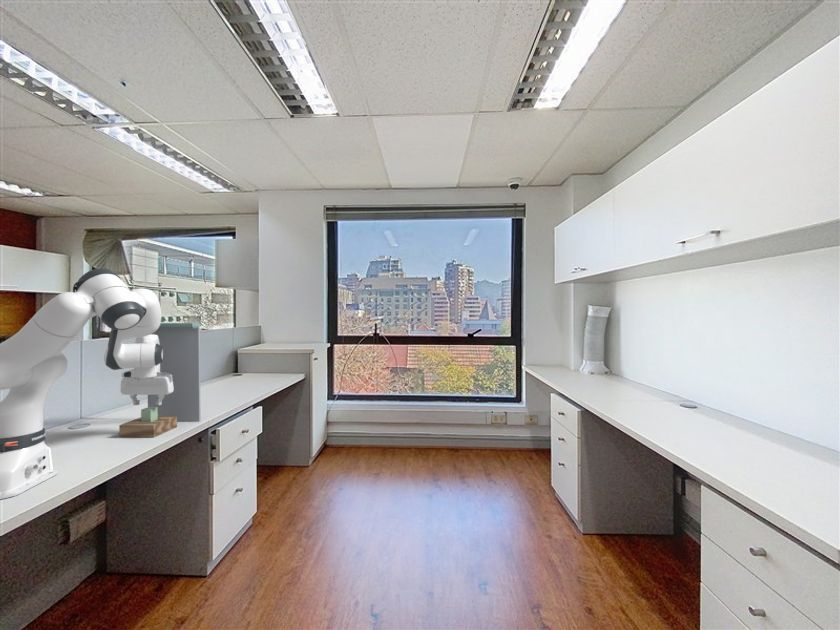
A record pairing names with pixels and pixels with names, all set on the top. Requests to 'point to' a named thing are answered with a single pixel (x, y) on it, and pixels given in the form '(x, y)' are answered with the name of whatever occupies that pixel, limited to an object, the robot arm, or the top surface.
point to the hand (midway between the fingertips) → (147, 404)
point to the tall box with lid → (180, 371)
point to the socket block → (147, 427)
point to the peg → (149, 414)
